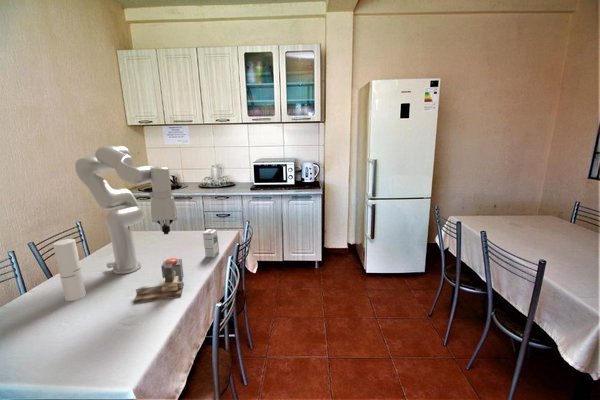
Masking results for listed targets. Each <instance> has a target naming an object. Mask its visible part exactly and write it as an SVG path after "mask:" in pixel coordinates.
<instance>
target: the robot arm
mask: <svg viewBox="0 0 600 400" xmlns="http://www.w3.org/2000/svg"><path fill="white" fill-rule="evenodd" d="M133 162H134V160H133V158H132V156H131V151H130V150H129V149H128V148H127V147H126V146H123V145H105V146H100V147H99V148H97V149H96V151H95V153H94V155H91V156H84V157H80V158H79V159H77V160H76V162H75V166H74V170H75V173H76V176H77V177H78V179H79V180H80V181H81V182H82V184H84V185H85V186H86V187H87V189H88V190H89V192H90V193H91V194H92V196H93V198H94V200H95V201H96V203H97V204H98V205H99V207H100V208H101V209H102V210H104V211H109V212H108V213H106V215H105V219H104V220H105V224H106V226H107V229H108V232H109V234H110V235H109V236H110V241H111V246H112V251H113V256H114V261H112V262H106V267H107V269H111V268H112V272H113V273H114V274H116V275H124V274H129V273H130V274H131V273H133V272H136V271H137V270H139V269H140V268H141V267H142V264H141V262H139V261H138V257H137V251H136V246H135V245H136V244H135V239H134V234H133V233H132V231H131V230H130V229H129V226H132V225H136V224H138V223H140V222H142V221H143V220H144V217H145V214H144V211H143V209H142V207H141V205H140V204H139V202H138V200H137V199H136V197H135V195H134V194H133V193H132V192H131V190H129V189H128V188H125V187H119V188H115V189H114V188H112V186H110V184H109V182H108V181H107V180H106V179H105V178H103V177H102V176H100V175H98V174H102V173H108V172H114V171H115V172H116V174H117V176H118V177H119V178H120V180H123V181H124V182H126V183H129V184H131V185H134V186H135V185H144V184H147V183H151V188H152V190H151V192H149V193H148V194H149V196H152V198H151V201H150V215H151V216H150V217H151V222H152V223H156V224H158V225H160V226H161V229H162V230H161V231H162V233H163V235H169V234H170V232H171V228H170V227H171V226H170V225H171V224H172V223H173V222H177V221H178V220H179V218H178V211H177V205H176V200H175V197H174V196H172V195H173V194H172V186H171V185H172V184H171V176H170V169H169V168H168V167H167V166H158V165H154V164H150V165H141V166H135V167H134V166H133V164H134V163H133ZM113 209H114V210H113ZM110 210H111V211H110ZM165 221H166V223H165Z"/></svg>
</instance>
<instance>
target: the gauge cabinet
mask: <svg viewBox="0 0 600 400" xmlns="http://www.w3.org/2000/svg"><path fill="white" fill-rule="evenodd" d="M177 260H178V262H177V263H176V264H173V270H174V276H178V278H179V282H180V281H182V282H184V281H183V280H184V277H185V276H184V269H183V268H184V267H183V261H182V260H183V259H182V258H177ZM165 261H166V260H163V261H162V264H161V266H160V267H161V273H162V279H163V278H165V275H164V266H165V265H166V263H165Z"/></svg>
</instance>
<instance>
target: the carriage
mask: <svg viewBox="0 0 600 400" xmlns="http://www.w3.org/2000/svg"><path fill="white" fill-rule="evenodd" d="M164 275H165V278H163V277H162V281H161V283H160V284H161V286H162V292H168V291H175V290H178V286H177V283H178V282H179V278H178V276H174V270H173V264H166V265H165V266H164Z"/></svg>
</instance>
